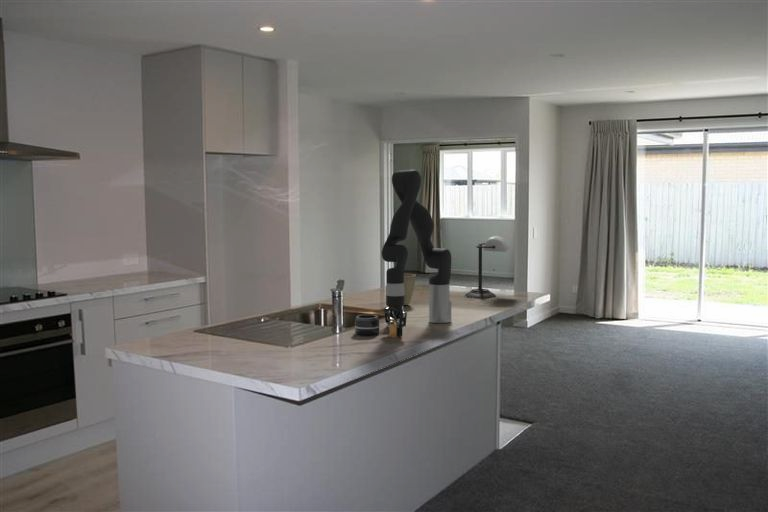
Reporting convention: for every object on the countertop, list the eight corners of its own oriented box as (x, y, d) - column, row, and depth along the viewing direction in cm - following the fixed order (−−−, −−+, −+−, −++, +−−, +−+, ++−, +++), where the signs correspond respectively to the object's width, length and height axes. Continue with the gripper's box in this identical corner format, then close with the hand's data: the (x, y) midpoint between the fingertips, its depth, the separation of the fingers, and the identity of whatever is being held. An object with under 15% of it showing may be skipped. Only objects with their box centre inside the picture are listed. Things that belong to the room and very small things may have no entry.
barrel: (371, 330, 280) (371, 313, 279) (384, 334, 271) (383, 317, 270) (350, 332, 275) (350, 315, 274) (362, 337, 266) (362, 319, 265)
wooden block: (397, 334, 271) (397, 322, 270) (404, 337, 266) (404, 324, 265) (386, 336, 268) (386, 323, 268) (393, 338, 263) (393, 326, 263)
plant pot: (421, 305, 342) (421, 275, 340) (398, 308, 333) (398, 277, 332) (404, 302, 354) (404, 272, 352) (382, 304, 346) (381, 274, 344)
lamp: (505, 300, 356) (505, 238, 353) (460, 298, 363) (460, 237, 360) (509, 293, 381) (510, 235, 378) (468, 292, 388) (468, 234, 385)
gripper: (412, 295, 261) (412, 337, 263) (393, 291, 273) (394, 331, 275) (396, 297, 257) (396, 339, 259) (378, 292, 270) (378, 333, 271)
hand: (395, 335), depth 267 cm, fingers closed on wooden block, 5 cm apart
